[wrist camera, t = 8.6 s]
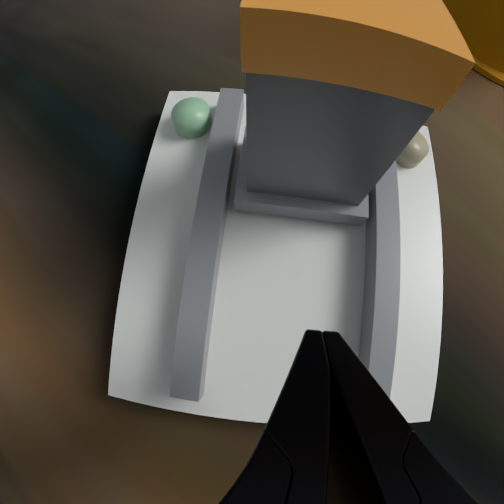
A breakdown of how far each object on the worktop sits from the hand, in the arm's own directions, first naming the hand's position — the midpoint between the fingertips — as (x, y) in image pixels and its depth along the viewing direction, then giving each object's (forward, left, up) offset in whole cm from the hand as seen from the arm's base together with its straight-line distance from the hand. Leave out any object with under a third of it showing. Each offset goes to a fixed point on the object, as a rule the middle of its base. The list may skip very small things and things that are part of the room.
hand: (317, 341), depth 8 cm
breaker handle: (+7, -3, -6) cm, 10 cm away
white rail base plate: (+4, -2, -8) cm, 9 cm away
